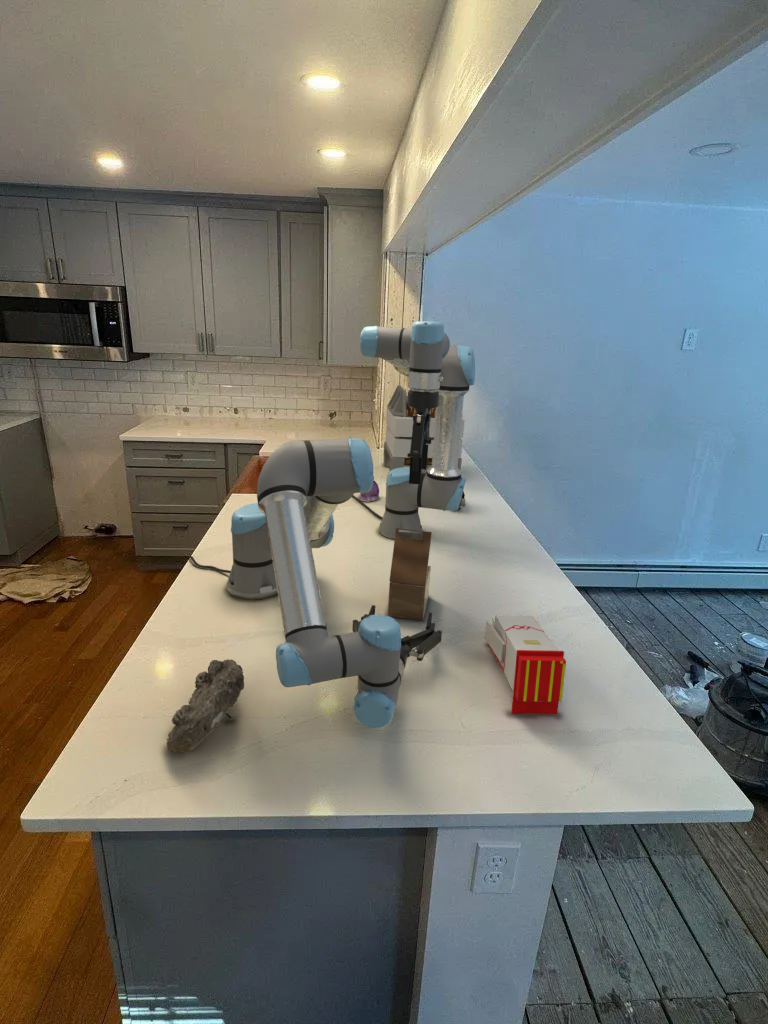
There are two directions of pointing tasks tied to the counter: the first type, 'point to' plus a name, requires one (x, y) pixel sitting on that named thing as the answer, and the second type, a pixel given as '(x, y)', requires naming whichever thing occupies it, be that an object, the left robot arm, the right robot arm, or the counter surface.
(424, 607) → the brown hollow box
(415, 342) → the right robot arm
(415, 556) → the lid
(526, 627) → the toy
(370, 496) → the figurine
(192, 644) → the counter surface
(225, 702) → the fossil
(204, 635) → the counter surface
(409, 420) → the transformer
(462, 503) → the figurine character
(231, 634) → the counter surface
